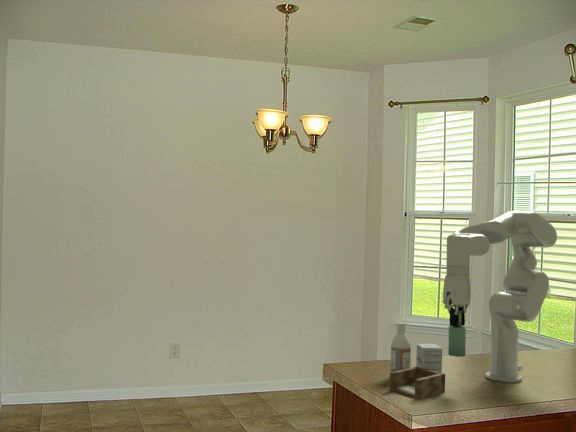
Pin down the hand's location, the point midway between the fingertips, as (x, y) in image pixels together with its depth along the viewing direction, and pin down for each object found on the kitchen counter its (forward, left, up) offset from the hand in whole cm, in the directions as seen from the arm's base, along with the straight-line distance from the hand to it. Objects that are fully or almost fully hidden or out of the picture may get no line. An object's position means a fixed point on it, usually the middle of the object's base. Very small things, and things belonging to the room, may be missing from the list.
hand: (457, 325), depth 206 cm
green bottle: (0, 0, -10) cm, 10 cm away
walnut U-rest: (+12, -7, -22) cm, 26 cm away
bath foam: (+4, -21, -22) cm, 31 cm away
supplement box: (-2, -13, -22) cm, 26 cm away
